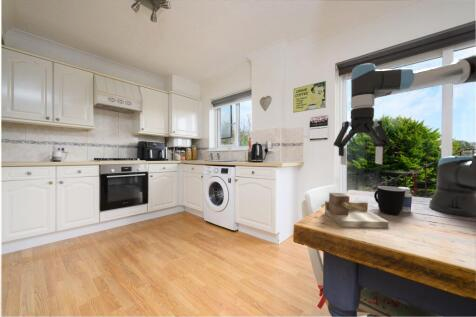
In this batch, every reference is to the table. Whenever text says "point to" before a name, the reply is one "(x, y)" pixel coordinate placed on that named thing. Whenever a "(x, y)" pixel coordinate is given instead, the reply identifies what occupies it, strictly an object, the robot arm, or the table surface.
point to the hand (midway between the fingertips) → (361, 164)
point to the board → (357, 216)
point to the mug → (390, 199)
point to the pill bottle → (407, 200)
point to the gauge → (339, 204)
